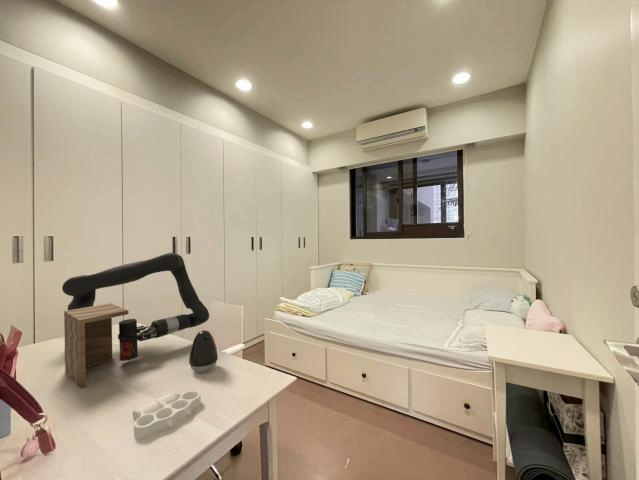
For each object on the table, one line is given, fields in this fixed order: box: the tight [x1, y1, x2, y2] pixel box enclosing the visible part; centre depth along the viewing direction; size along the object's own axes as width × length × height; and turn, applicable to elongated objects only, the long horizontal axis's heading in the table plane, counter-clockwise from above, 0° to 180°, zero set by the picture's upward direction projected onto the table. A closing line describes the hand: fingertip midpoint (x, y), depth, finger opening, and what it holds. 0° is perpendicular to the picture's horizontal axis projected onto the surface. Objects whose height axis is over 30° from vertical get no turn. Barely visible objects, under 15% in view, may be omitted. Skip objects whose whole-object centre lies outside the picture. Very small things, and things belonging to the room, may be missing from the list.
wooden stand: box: [63, 302, 129, 389], centre depth 103 cm, size 20×14×24 cm
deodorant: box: [118, 318, 139, 362], centre depth 110 cm, size 6×6×15 cm
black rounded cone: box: [188, 329, 219, 374], centre depth 103 cm, size 10×10×15 cm
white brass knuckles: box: [131, 390, 202, 440], centre depth 77 cm, size 3×18×15 cm
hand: (121, 338), depth 108 cm, fingers closed on deodorant, 6 cm apart
